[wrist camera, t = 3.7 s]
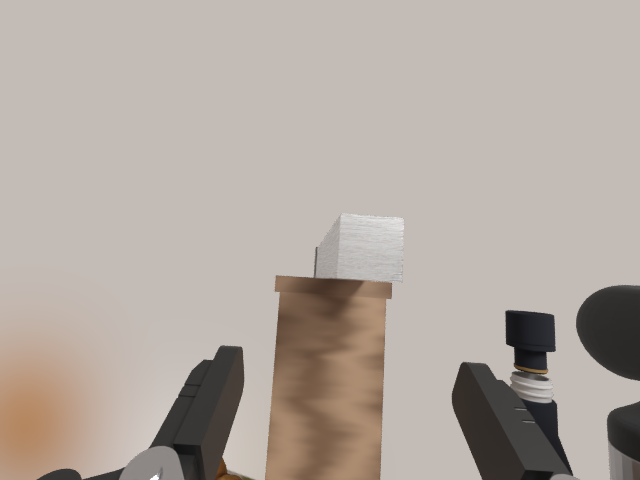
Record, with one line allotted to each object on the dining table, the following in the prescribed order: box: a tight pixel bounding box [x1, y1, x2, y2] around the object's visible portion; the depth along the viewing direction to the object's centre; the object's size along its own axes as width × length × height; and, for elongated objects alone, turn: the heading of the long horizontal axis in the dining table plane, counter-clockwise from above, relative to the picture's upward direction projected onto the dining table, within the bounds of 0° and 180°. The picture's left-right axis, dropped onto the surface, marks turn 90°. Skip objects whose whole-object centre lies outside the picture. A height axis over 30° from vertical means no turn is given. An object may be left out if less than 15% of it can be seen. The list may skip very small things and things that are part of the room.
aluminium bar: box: [314, 214, 404, 282], centre depth 30 cm, size 4×24×4 cm, turn 4°
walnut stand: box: [265, 276, 392, 480], centre depth 33 cm, size 11×14×32 cm
